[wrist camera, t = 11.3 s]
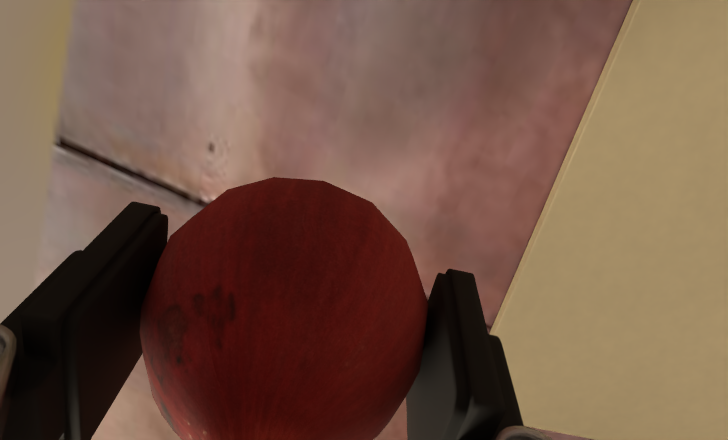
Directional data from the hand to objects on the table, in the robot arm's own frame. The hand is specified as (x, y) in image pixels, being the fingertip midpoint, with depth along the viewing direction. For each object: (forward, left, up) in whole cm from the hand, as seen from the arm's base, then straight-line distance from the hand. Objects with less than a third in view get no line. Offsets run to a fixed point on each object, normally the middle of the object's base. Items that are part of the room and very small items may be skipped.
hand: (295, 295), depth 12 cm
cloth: (+12, +1, -4) cm, 13 cm away
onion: (0, 0, -3) cm, 3 cm away
